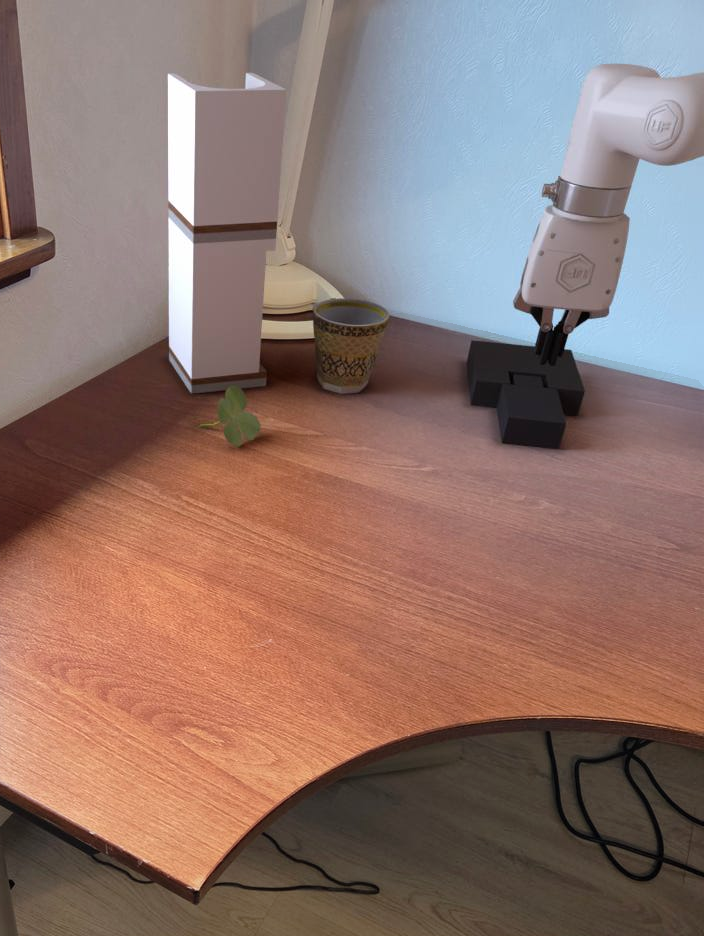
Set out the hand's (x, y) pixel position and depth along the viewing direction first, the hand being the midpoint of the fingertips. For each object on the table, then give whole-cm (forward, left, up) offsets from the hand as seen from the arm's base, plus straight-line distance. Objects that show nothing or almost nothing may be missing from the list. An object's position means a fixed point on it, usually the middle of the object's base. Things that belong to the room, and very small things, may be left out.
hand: (545, 360), depth 110 cm
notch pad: (0, -12, -9) cm, 15 cm away
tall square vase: (+42, -7, -9) cm, 44 cm away
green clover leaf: (+37, +10, -9) cm, 39 cm away
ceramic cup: (+25, -9, -9) cm, 28 cm away
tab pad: (0, -2, -9) cm, 9 cm away
